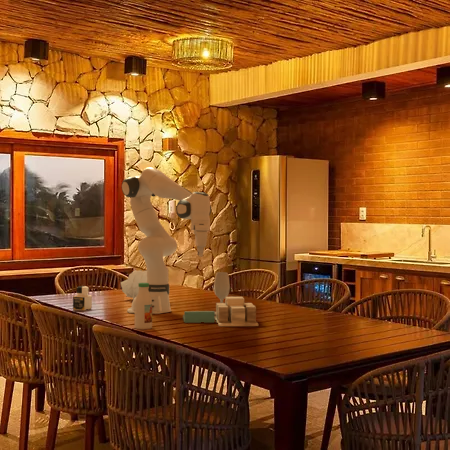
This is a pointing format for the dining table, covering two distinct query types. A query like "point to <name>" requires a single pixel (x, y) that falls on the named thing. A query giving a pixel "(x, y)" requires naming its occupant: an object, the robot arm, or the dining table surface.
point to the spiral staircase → (134, 283)
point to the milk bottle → (143, 308)
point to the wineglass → (221, 285)
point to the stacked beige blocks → (235, 313)
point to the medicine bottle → (82, 299)
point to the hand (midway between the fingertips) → (200, 256)
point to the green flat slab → (198, 316)
